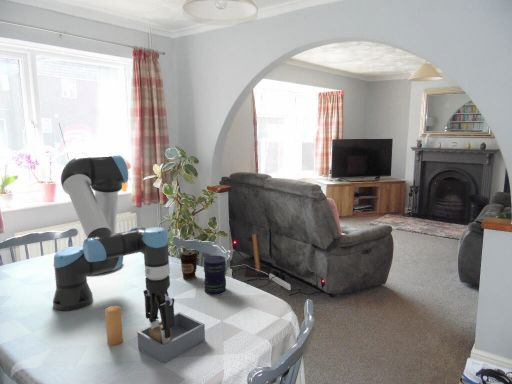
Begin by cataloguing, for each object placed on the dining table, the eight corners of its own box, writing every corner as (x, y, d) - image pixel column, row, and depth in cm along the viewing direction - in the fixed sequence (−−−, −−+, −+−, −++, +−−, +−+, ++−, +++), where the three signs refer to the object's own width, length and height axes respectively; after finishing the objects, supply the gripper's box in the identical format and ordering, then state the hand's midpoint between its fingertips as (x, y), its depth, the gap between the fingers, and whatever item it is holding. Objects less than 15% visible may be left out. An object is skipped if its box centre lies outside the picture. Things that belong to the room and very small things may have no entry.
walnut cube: (159, 349, 120) (158, 335, 120) (150, 344, 124) (149, 330, 123) (171, 343, 124) (171, 329, 123) (162, 338, 127) (161, 324, 127)
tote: (163, 364, 117) (162, 346, 116) (138, 348, 125) (137, 331, 125) (204, 340, 130) (204, 324, 129) (180, 327, 139) (179, 312, 138)
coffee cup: (194, 281, 180) (193, 256, 178) (178, 280, 182) (177, 254, 179) (200, 275, 188) (199, 250, 186) (185, 273, 190) (184, 249, 188)
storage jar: (208, 296, 164) (207, 264, 161) (201, 288, 172) (200, 257, 170) (229, 292, 168) (229, 260, 166) (221, 284, 177) (220, 254, 174)
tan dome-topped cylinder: (106, 346, 127) (104, 313, 125) (108, 338, 131) (106, 306, 129) (122, 344, 128) (120, 311, 126) (123, 336, 133) (121, 305, 131)
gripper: (131, 272, 123) (135, 338, 127) (165, 287, 112) (168, 358, 115) (150, 266, 129) (154, 329, 132) (184, 279, 117) (187, 347, 121)
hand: (161, 342), depth 124 cm, fingers closed on walnut cube, 5 cm apart
